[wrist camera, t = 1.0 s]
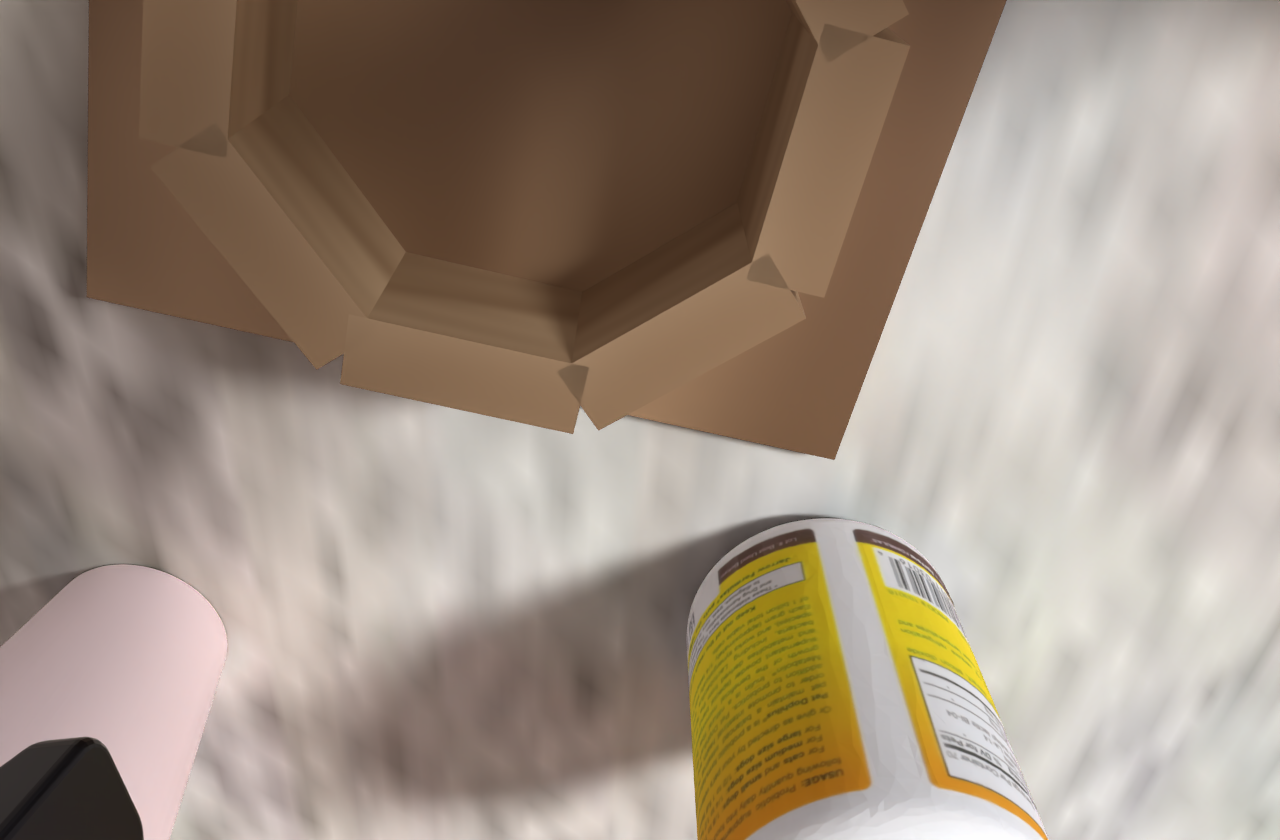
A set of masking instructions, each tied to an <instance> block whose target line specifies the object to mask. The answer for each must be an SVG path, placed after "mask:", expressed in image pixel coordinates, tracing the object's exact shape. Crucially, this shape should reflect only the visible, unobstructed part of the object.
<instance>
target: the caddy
mask: <svg viewBox="0 0 1280 840" xmlns="http://www.w3.org/2000/svg"><path fill="white" fill-rule="evenodd" d="M1006 1H1007V0H89V59H88V187H87V297H88V298H93V299H97V300H102V301H106V302H111V303H116V304H120V305H125V306H129V307H134V308H139V309H143V310H148V311H152V312H157V313H162V314H166V315H171V316H175V317H180V318H185V319H189V320H194V321H198V322H203V323H208V324H212V325H217V326H221V327H226V328H231V329H235V330H240V331H244V332H249V333H254V334H258V335H263V336H267V337H272V338H277V339H281V340H286V341H290V342H294V343H295V344H296V345H297V347H298V348H299V349H300V350H301V351H302V353H303V354H304V355H305V356H306V357H307V359H308V360H309V361H310V362H311V364H312V365H313V366H314V367H315V368H316V370H317V369H319V368H321V367H322V366H324V365H326V364H327V363H329V362H331V361H332V360H334V359H336V358H337V357H339V356H341V355H342V354H344V357H343V364H342V372H341V380H340V384H342V385H347V386H352V387H356V388H361V389H366V390H370V391H375V392H380V393H384V394H389V395H394V396H398V397H403V398H408V399H412V400H417V401H422V402H426V403H431V404H436V405H440V406H445V407H450V408H454V409H459V410H464V411H468V412H473V413H478V414H482V415H487V416H492V417H496V418H501V419H506V420H510V421H515V422H520V423H524V424H529V425H534V426H538V427H543V428H548V429H552V430H557V431H562V432H566V433H571V434H573V432H574V428H575V424H576V420H577V416H578V412H579V408H580V405H581V407H582V408H583V410H584V411H585V412H586V414H587V415H588V417H589V418H590V419H591V421H592V422H593V424H594V425H595V426H596V428H597V429H598V430H600V429H602V428H604V427H606V426H608V425H610V424H611V423H613V422H615V421H617V420H619V419H621V418H623V417H624V416H626V415H631V416H635V417H640V418H644V419H649V420H654V421H658V422H663V423H667V424H672V425H677V426H681V427H686V428H690V429H695V430H700V431H704V432H709V433H713V434H718V435H723V436H727V437H732V438H736V439H741V440H746V441H750V442H755V443H759V444H764V445H769V446H773V447H778V448H782V449H787V450H792V451H796V452H801V453H805V454H810V455H815V456H819V457H824V458H828V459H833V460H834V459H835V457H836V454H837V451H838V449H839V446H840V443H841V441H842V438H843V435H844V433H845V430H846V427H847V425H848V422H849V419H850V417H851V414H852V411H853V409H854V406H855V403H856V401H857V398H858V395H859V393H860V390H861V387H862V385H863V382H864V379H865V377H866V374H867V371H868V369H869V366H870V363H871V361H872V358H873V355H874V353H875V350H876V347H877V345H878V342H879V339H880V337H881V334H882V331H883V329H884V326H885V323H886V321H887V318H888V315H889V313H890V310H891V307H892V305H893V302H894V299H895V297H896V294H897V291H898V289H899V286H900V283H901V281H902V278H903V275H904V273H905V270H906V267H907V265H908V262H909V259H910V257H911V254H912V251H913V249H914V246H915V243H916V241H917V238H918V235H919V233H920V230H921V227H922V225H923V222H924V219H925V217H926V214H927V211H928V209H929V206H930V203H931V201H932V198H933V195H934V193H935V190H936V187H937V185H938V182H939V179H940V177H941V174H942V171H943V169H944V166H945V163H946V161H947V158H948V155H949V153H950V150H951V147H952V145H953V142H954V139H955V137H956V134H957V131H958V129H959V126H960V123H961V121H962V118H963V115H964V113H965V110H966V107H967V105H968V102H969V99H970V97H971V94H972V91H973V89H974V86H975V83H976V81H977V78H978V75H979V73H980V70H981V67H982V65H983V62H984V59H985V57H986V54H987V51H988V49H989V46H990V43H991V41H992V38H993V35H994V33H995V30H996V27H997V25H998V22H999V19H1000V17H1001V14H1002V11H1003V9H1004V6H1005V3H1006Z"/></svg>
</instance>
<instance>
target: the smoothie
mask: <svg viewBox="0 0 1280 840" xmlns="http://www.w3.org/2000/svg"><path fill="white" fill-rule="evenodd" d="M227 650H228V642H227V635H226V631H225V628H224V625H223V623H222V621H221V619H220V617H219V615H218V614H217V612H216V610H215V609H214V608H213V606H212V605H211V604H210V603H209V602H208V601H207V600H206V598H205V597H203V596H202V595H201V594H200V593H199V592H198V591H197V590H195V589H194V588H193V587H191V586H190V585H188V584H187V583H185V582H184V581H182V580H180V579H178V578H176V577H174V576H172V575H170V574H168V573H165V572H162V571H160V570H156V569H153V568H149V567H144V566H138V565H127V564H117V565H107V566H102V567H98V568H95V569H91V570H89V571H87V572H84V573H82V574H81V575H79V576H77V577H76V578H74V579H73V580H72V581H71V582H70V583H69V584H67V585H66V586H65V587H64V588H63V589H62V590H61V591H60V592H59V593H58V594H57V595H56V596H55V597H54V598H52V599H51V600H50V601H49V602H48V603H47V604H46V605H45V606H44V607H43V608H42V609H41V610H40V611H39V612H37V613H36V614H35V615H34V616H33V617H32V618H31V619H30V620H29V621H28V622H27V623H26V624H25V625H24V626H22V627H21V628H20V629H19V630H18V631H17V632H16V633H15V634H14V635H13V636H12V637H11V638H10V639H9V640H8V641H6V642H5V643H4V644H3V645H2V646H1V647H0V767H1V766H2V765H3V764H5V763H6V762H8V761H9V760H10V759H12V758H13V757H14V756H16V755H17V754H19V753H20V752H21V751H23V750H24V749H26V748H27V747H29V746H30V745H32V744H35V743H37V742H42V741H46V740H56V739H66V738H77V737H91V738H96V739H98V740H99V741H100V742H102V743H103V744H104V745H105V746H106V747H107V749H108V751H109V752H110V754H111V756H112V759H113V761H114V763H115V765H116V767H117V769H118V771H119V773H120V776H121V778H122V780H123V782H124V784H125V786H126V788H127V790H128V792H129V795H130V797H131V799H132V801H133V803H134V805H135V807H136V809H137V812H138V814H139V816H140V819H141V822H142V827H143V836H144V840H169V839H170V836H171V833H172V830H173V827H174V823H175V820H176V817H177V814H178V811H179V807H180V804H181V801H182V798H183V795H184V792H185V788H186V785H187V782H188V779H189V776H190V772H191V769H192V766H193V763H194V760H195V756H196V753H197V750H198V747H199V744H200V740H201V737H202V734H203V731H204V728H205V724H206V721H207V718H208V715H209V712H210V708H211V705H212V702H213V699H214V696H215V692H216V689H217V686H218V683H219V680H220V676H221V673H222V670H223V667H224V664H225V660H226V657H227Z"/></svg>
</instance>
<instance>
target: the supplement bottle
mask: <svg viewBox="0 0 1280 840" xmlns="http://www.w3.org/2000/svg"><path fill="white" fill-rule="evenodd" d="M687 661H688V684H689V696H690V715H691V733H692V753H693V767H694V786H695V803H696V818H697V836H698V840H1049V838H1048V836H1047V833H1046V831H1045V828H1044V826H1043V824H1042V821H1041V818H1040V816H1039V813H1038V811H1037V808H1036V806H1035V803H1034V801H1033V798H1032V796H1031V794H1030V791H1029V789H1028V786H1027V784H1026V781H1025V779H1024V777H1023V774H1022V772H1021V769H1020V767H1019V764H1018V762H1017V760H1016V757H1015V755H1014V752H1013V750H1012V748H1011V745H1010V743H1009V740H1008V738H1007V735H1006V732H1005V730H1004V727H1003V725H1002V722H1001V720H1000V717H999V715H998V713H997V710H996V707H995V705H994V703H993V700H992V698H991V695H990V693H989V691H988V688H987V686H986V683H985V681H984V679H983V676H982V674H981V672H980V669H979V666H978V664H977V661H976V659H975V657H974V654H973V652H972V650H971V647H970V645H969V642H968V640H967V637H966V635H965V633H964V630H963V628H962V625H961V623H960V620H959V618H958V615H957V613H956V611H955V608H954V603H953V601H952V600H951V598H950V595H949V593H948V591H947V589H946V587H945V585H944V583H943V581H942V580H941V578H940V576H939V575H938V573H937V571H936V570H935V568H934V567H933V566H932V565H931V563H930V562H929V561H928V560H927V559H926V558H925V557H924V556H923V555H922V554H921V553H920V552H919V551H918V550H917V549H916V548H914V547H913V546H912V545H910V544H909V543H908V542H906V541H905V540H903V539H902V538H900V537H898V536H896V535H895V534H893V533H891V532H889V531H886V530H884V529H881V528H879V527H876V526H873V525H870V524H866V523H862V522H858V521H853V520H846V519H834V518H820V519H808V520H800V521H795V522H790V523H786V524H782V525H779V526H776V527H773V528H771V529H768V530H766V531H763V532H761V533H759V534H757V535H755V536H753V537H751V538H749V539H747V540H746V541H744V542H742V543H741V544H739V545H738V546H736V547H735V548H734V549H732V550H731V551H730V552H729V553H727V554H726V555H725V556H724V557H723V558H722V559H721V560H720V561H719V562H718V563H717V564H716V565H715V566H714V567H713V568H712V570H711V571H710V572H709V573H708V575H707V576H706V578H705V579H704V581H703V582H702V584H701V586H700V588H699V590H698V592H697V594H696V596H695V598H694V601H693V603H692V606H691V610H690V614H689V618H688V626H687Z"/></svg>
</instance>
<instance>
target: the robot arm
mask: <svg viewBox="0 0 1280 840" xmlns="http://www.w3.org/2000/svg"><path fill="white" fill-rule="evenodd" d="M0 840H144V836H143V827H142V822H141V819H140V816H139V814H138V812H137V809H136V807H135V805H134V803H133V801H132V799H131V797H130V795H129V792H128V790H127V788H126V786H125V784H124V782H123V780H122V778H121V776H120V773H119V771H118V769H117V767H116V765H115V763H114V761H113V759H112V756H111V754H110V752H109V751H108V749H107V747H106V746H105V745H104V744H103V743H102V742H100V741H99V740H98V739H96V738H91V737H77V738H66V739H56V740H46V741H42V742H37V743H35V744H32V745H30V746H29V747H27V748H26V749H24V750H23V751H21V752H20V753H19V754H17V755H16V756H14V757H13V758H12V759H10V760H9V761H8V762H6V763H5V764H3V765H2V766H1V767H0Z"/></svg>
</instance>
